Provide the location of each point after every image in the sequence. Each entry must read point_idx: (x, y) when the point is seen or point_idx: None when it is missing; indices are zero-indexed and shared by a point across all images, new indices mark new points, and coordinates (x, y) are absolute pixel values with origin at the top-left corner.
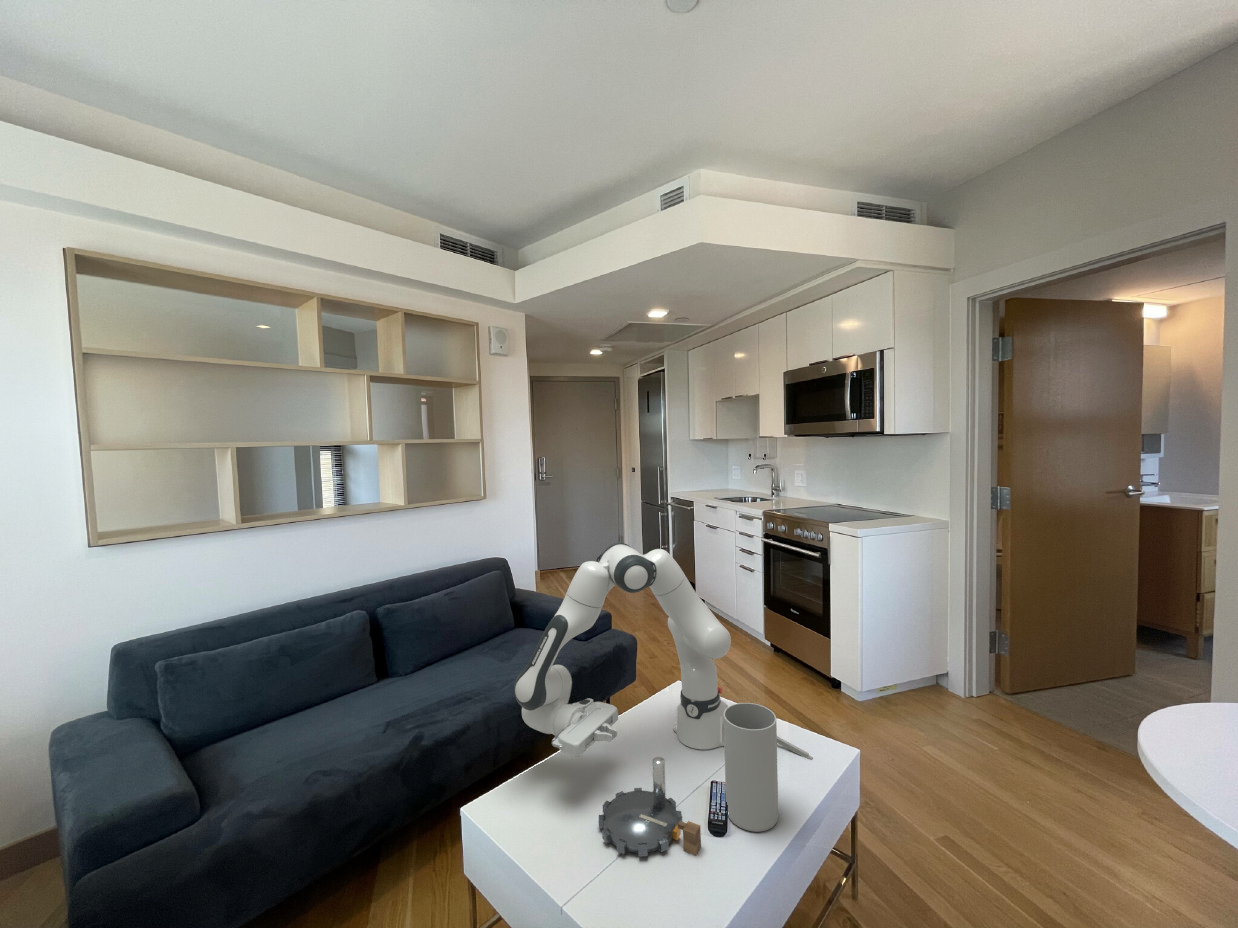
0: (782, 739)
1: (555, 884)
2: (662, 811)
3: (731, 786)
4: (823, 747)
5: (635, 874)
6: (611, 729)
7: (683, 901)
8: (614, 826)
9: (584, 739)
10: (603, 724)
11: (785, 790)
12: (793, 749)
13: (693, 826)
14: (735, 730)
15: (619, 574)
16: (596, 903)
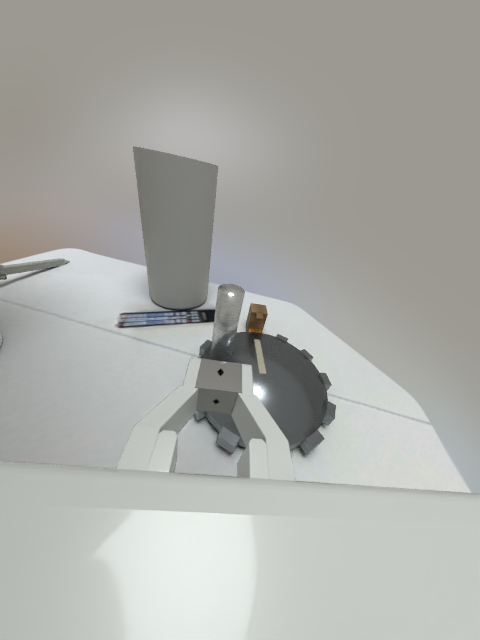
0: (25, 263)
1: (438, 458)
2: (235, 349)
3: (203, 266)
4: (42, 254)
5: (323, 365)
6: (197, 380)
7: (309, 326)
8: (310, 402)
9: (432, 490)
10: (148, 467)
11: (132, 278)
12: (48, 264)
13: (256, 307)
14: (215, 173)
15: None
16: (385, 388)
